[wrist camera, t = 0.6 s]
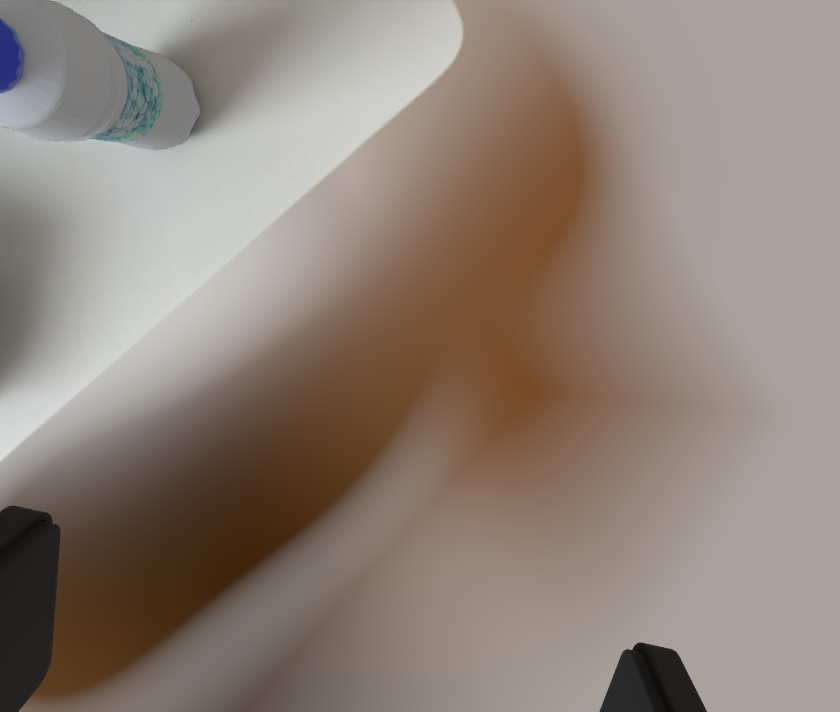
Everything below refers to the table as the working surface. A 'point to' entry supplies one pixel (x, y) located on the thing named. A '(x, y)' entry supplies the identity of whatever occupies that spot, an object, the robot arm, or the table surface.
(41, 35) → the bottle
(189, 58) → the table surface
